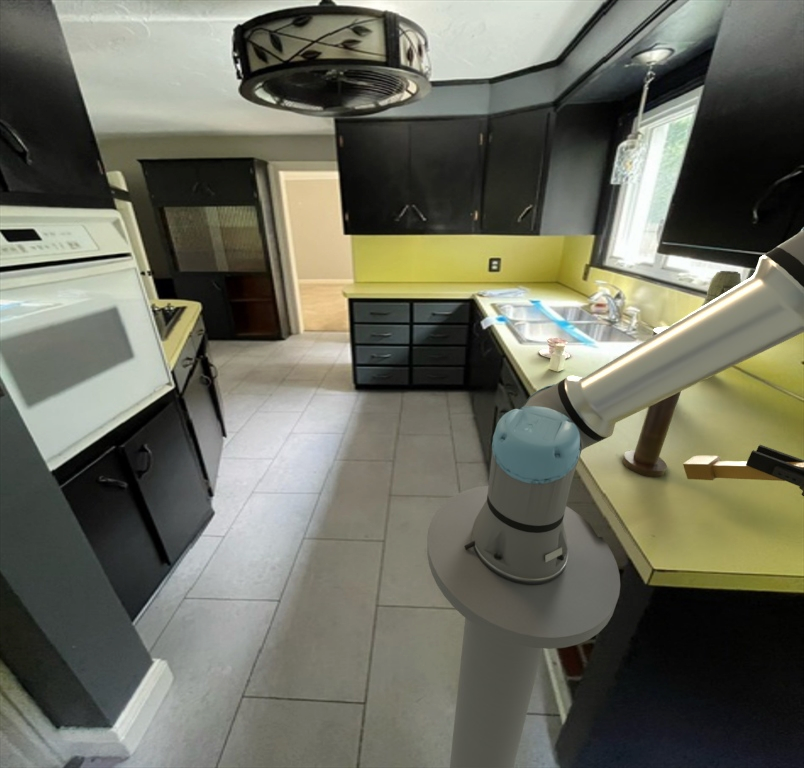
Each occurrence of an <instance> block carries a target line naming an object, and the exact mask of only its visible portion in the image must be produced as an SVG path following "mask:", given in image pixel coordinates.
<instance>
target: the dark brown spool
mask: <svg viewBox="0 0 804 768" xmlns="http://www.w3.org/2000/svg"><path fill="white" fill-rule="evenodd" d="M668 327H669V326H662V327H655V328H654V329H653V331H652V335H651V337H653V336H654V335H656V334H658V333H659V332H661V331H663V330H664V329H666V328H668ZM681 392H682V391H681ZM681 392H678V393H676V394H674V395H672V396H670V397H668V398H666V399H664V400H662V401H660V402H658V403H656V404H654V405H651V406H649V407H647V410H646V414H645V417H644V420H643V423H642V427H641V430H640V432H639V437H638V440H637V443H636V447H635V449H630V450H626V451H625V452H624V453H623V455H622V456H623V457H622V464H623V465H624V466H625V467H626V468H627V469H628V470H630V471H631V472H633V473H636V474H638V475H641V476H645V477H650V478H651V477H652V478H658V477H662V476H663V475H665V473H666V470H667V468H668V466H667V463H666V461H665V460H664V459H662V458H661V457H660V455H661V453H662V450H663V447H664V443H665V441H666V437H667V435H668V432H669V429H670V425H671V423H672V420H673V417H674V414H675V411H676V408H677V404H678V402H679V399H680V396H681Z"/></svg>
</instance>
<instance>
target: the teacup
mask: <svg viewBox="0 0 804 768" xmlns="http://www.w3.org/2000/svg"><path fill="white" fill-rule="evenodd" d="M546 342H547V345H548V348H543V349H541V350H539V351H538V354H539V355H540V356H541V357H545V358H548V359H551V354H552V353H553V352H555V345H556V344H563V345H565V346H566V345H567V344H568V343H569V341H568V340H566V339H564V338H561V337H548V338H546ZM564 354H566V358H565V360H566V359H569V358H570V357H571V354H570V352H567V351H565V350H564Z"/></svg>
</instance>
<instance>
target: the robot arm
mask: <svg viewBox="0 0 804 768" xmlns="http://www.w3.org/2000/svg"><path fill="white" fill-rule="evenodd" d="M700 307H701V306H700ZM700 307H699V308H698V309H696V310H695V311H693V312H691V313H689V314H688V315H686V316H684V317H683V318H681V319H679V320H678V321H676V322H674V323H673V324H671V325H670V326H669V325H668V326H667V327H668V328H666V329H664V330H663V331H661V332H659V333H658V334H656V335H654V336H653V337H652V336H651V337H649V338H647V339H646V340H645V341H642V342H641V343H640V344H639V343H638V345H636V346H634V347H633V348H631V349H629V350H628V351H626V352H624V353H622V354H621V355H619V356H617V357H616V358H614V359H613V360H611V361H609V362H607V363H606V364H604V365H603V366H600V367H599V368H598V369H596V370H594V371H592V372H591V373H589V374H587V375H586V376H584V377H580V376H577V375H569V376H566V377H565V378H564V379H562V380H560V381H558V382H557V383H554V384H549V385H546V386H543V387H541V388H540V389H538V390H536V391H535V392H533V393H532V394H531V395H530V396H529V397H528V398H527V399H526V401H525V402H524V404H523V406H521V408H520V409H519V408H514V409H511V410H509V411H507V412H505V414H503V415H502V416H501V417H500V418H499V420H498V421H497V424H496V427H495V430H494V433H493V436H492V442H491V450H492V451H491V460H490V468H489V469H490V470H489V477H488V485H487V486H488V495H487V500H486V502H485V503H484V505H483V507H482V508H481V510H480V512H479V514H478V515H477V517H476V519H475V521H474V524H473V528H472V542H471V543H469V544H467V545H465V546H464V547H465V549H466V550H467V549H469V548H471V547H473V548H474V551H475V553H476V555H477V556H478V558H479V559H480V560H481V562H482V563H483V564H484V565H485V566H486V567H487V568H488V569H490V570H491V571H492V572H494V573H495V574H497V575H498V576H500V577H502V578H504V579H506V580H509V581H511V582H515V583H518V584H524V585H541V584H546V583H549V582H551V581H553V580H555V579H556V578H558V577H559V576H560V575H561V574H562V572H563V571H564V569H565V566H566V563H567V558H568V543H567V538H566V533H565V528H564V522H563V517H564V513H565V509H566V506H567V505H568V501H569V495H570V492H571V486H572V483H573V480H574V475H575V472H576V469H577V466H578V464H579V461H580V457H581V454H582V451H583V450H585V449H587V448H589V447H591V446H593V445H594V444H597V443H600V442H601V441H603V440H606V439H608V438H610V437H612V436H613V434H614V430H615V427H616V424H617V423H618V422H620V421H622V420H624V419H627V418H629V417H630V416H633V415H635V414H637V413H639V412H641V411H643V410H646V409H648V407H649V406H651V405H654V404H656V403H658V402H660V401H662V400H664V399H666V398H668V397H670V396H672V395H674V394H676V393H678V392H682V391H685V390H687V389H688V388H691V387H693V386H696V385H697V384H700V383H702V382H704V381H706V380H707V379H709V378H711V377H715V376H716V375H718V374H720V373H722V372H724V371H726V370H728V369H730V368H733V367H735V366H736V365H739V364H741V363H743V362H745V361H747V360H749V359H751V358H753V357H756V356H757V355H759V354H762V353H764V352H765V351H768V350H770V349H772V348H774V347H776V346H778V345H781V344H782V343H784V342H786V341H788V340H790V339H792V338H795V337H797V336H799V335H801V334H803V333H804V226H803V227H802V228H801V229H800V231H799V232H798V233H797V234H795V235H793V236H792V237H790V238H788V239H787V240H785V241H784V242H782V243H780V244H779V245H777V246H776V247H774V248H773V249H771V250H770V251H768V252H766V253H765V254H763V255H762V256H760V257H759V259H758V262H757V265H756V267H755V270H754V273H753V275H752V276H751V277H749V278H748V279H746V280H744V281H743V282H741V283H740V284H739V285H738V286H736V287H734V288H733V289H731V290H729V291H728V292H726V293H724V294H723V295H721V296H719V297H718V298H716V299H714V300H713V301H711V302H709V303H708V304H706V305H704V306H703V307H701V308H700ZM746 461H747V463H746V465H747V466H749V467H752V468H754V469H757V470H759V471H762V472H764V473H767V474H769V475H772V476H774V477H777V478H779V479H782V480H785V481H784V482H787V483H790V484H792V485H795V486H797V487H798V488H799V489H800V490H801V491H802V492H801V494H800V495H801V496H802V497H804V469H803V468H801V467H798V466H795V465H792V464H790V463H787V462H804V459H802V458H799V457H796V456H794V455H791V454H788V453H785V452H783V451H779V450H776V449H774V448H771V447H769V446H765V445H762V444H759V445H758V446H757V448H756V450H752V451H751V452H750V454H749V456H748V459H747V460H746Z"/></svg>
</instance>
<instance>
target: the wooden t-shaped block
mask: <svg viewBox="0 0 804 768" xmlns="http://www.w3.org/2000/svg"><path fill="white" fill-rule="evenodd" d="M747 461H748V460H746V461H743V460H741V461H740V460H738V461H737V460H721V456H720V455H693V456H692V457H691V458H689V459H688V460H686V461H685V462H683V463H682V465H683V469H684V472H685V475H686V479H687V480H698V481H700V480H701V481H714V480H715V479H734V480H757V481H779V482H786V481H785V480H782V479H779V478H777V477H774V476H772V475H769V474H767V473H764V472H762V471H759V470H757V469H754V468H752V467H749V466H747V465H746V463H747ZM787 463H790V464H792V465H795V466H798V467H801V468H803V469H804V462H787Z"/></svg>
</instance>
